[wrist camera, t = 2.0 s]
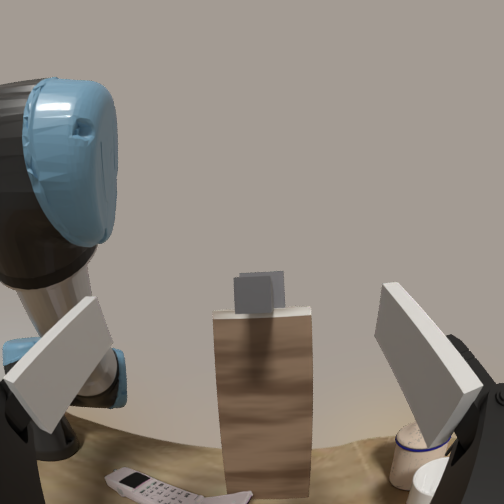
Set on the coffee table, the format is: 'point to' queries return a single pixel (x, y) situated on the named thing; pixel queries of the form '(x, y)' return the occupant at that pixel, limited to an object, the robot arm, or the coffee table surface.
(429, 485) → the white cup
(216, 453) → the coffee table surface
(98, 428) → the coffee table surface
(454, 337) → the robot arm
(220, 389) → the brown wooden tall block
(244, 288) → the gray block
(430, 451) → the teacup with lid
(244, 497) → the mobile phone
